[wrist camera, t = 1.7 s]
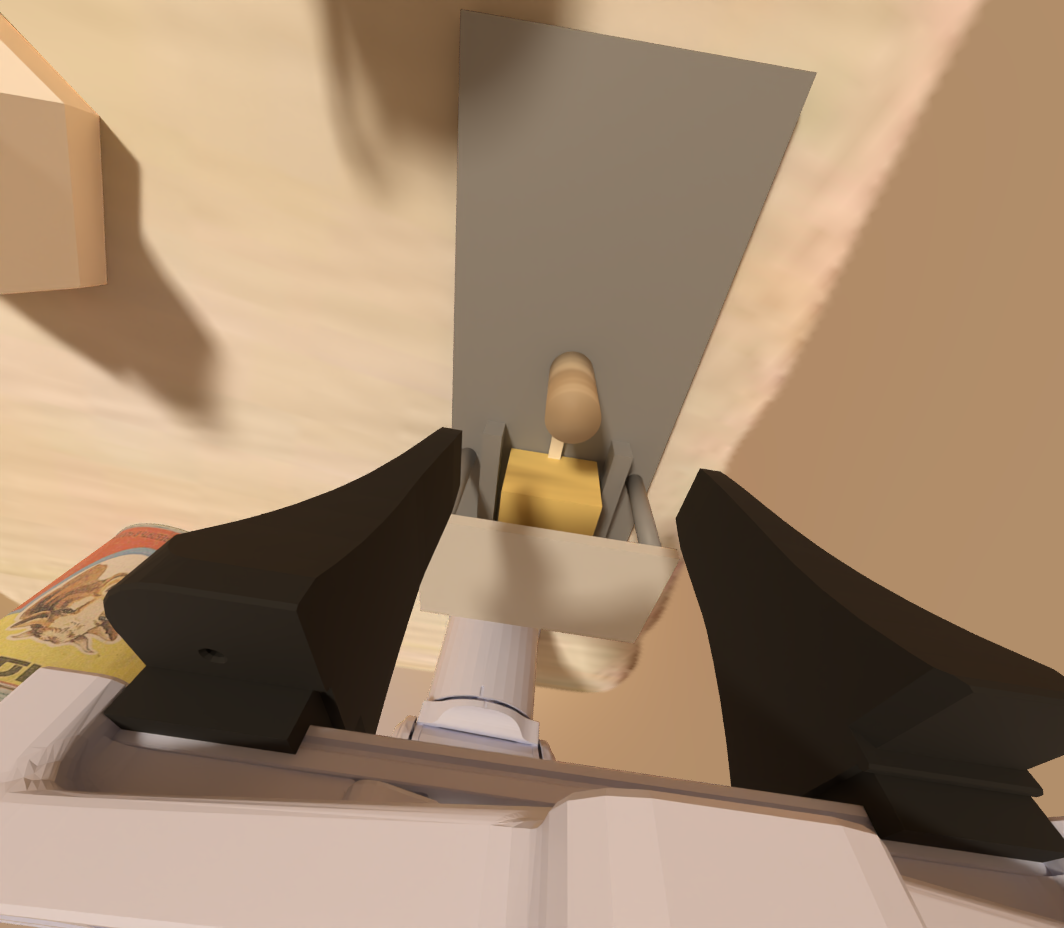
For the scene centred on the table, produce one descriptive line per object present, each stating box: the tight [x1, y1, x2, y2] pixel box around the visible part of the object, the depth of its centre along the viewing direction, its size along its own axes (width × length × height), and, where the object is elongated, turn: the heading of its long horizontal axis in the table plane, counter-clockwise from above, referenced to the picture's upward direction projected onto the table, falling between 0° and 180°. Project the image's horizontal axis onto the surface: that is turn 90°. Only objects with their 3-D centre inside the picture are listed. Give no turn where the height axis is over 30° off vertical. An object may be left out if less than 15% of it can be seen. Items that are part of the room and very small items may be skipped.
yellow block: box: [498, 351, 602, 536], centre depth 20 cm, size 12×5×5 cm, turn 172°
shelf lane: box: [419, 9, 817, 643], centre depth 17 cm, size 24×12×7 cm, turn 172°
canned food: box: [0, 524, 187, 702], centre depth 28 cm, size 11×11×12 cm
